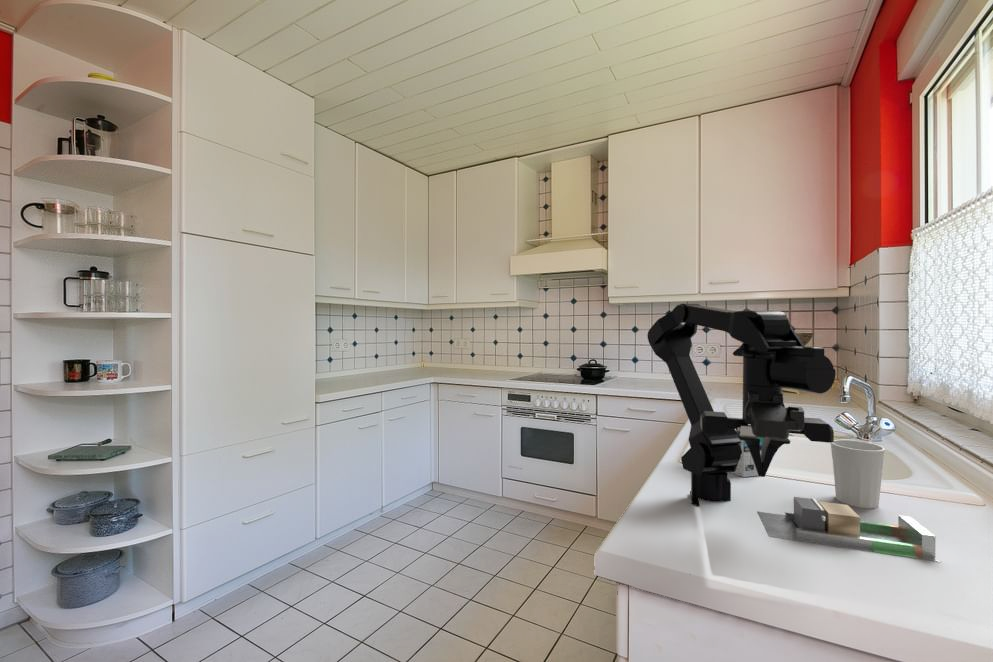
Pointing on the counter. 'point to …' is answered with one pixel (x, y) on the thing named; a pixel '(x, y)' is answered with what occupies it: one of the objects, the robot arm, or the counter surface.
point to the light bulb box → (746, 461)
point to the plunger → (809, 514)
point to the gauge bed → (846, 536)
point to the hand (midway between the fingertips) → (761, 476)
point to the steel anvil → (917, 534)
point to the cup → (857, 472)
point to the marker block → (841, 519)
